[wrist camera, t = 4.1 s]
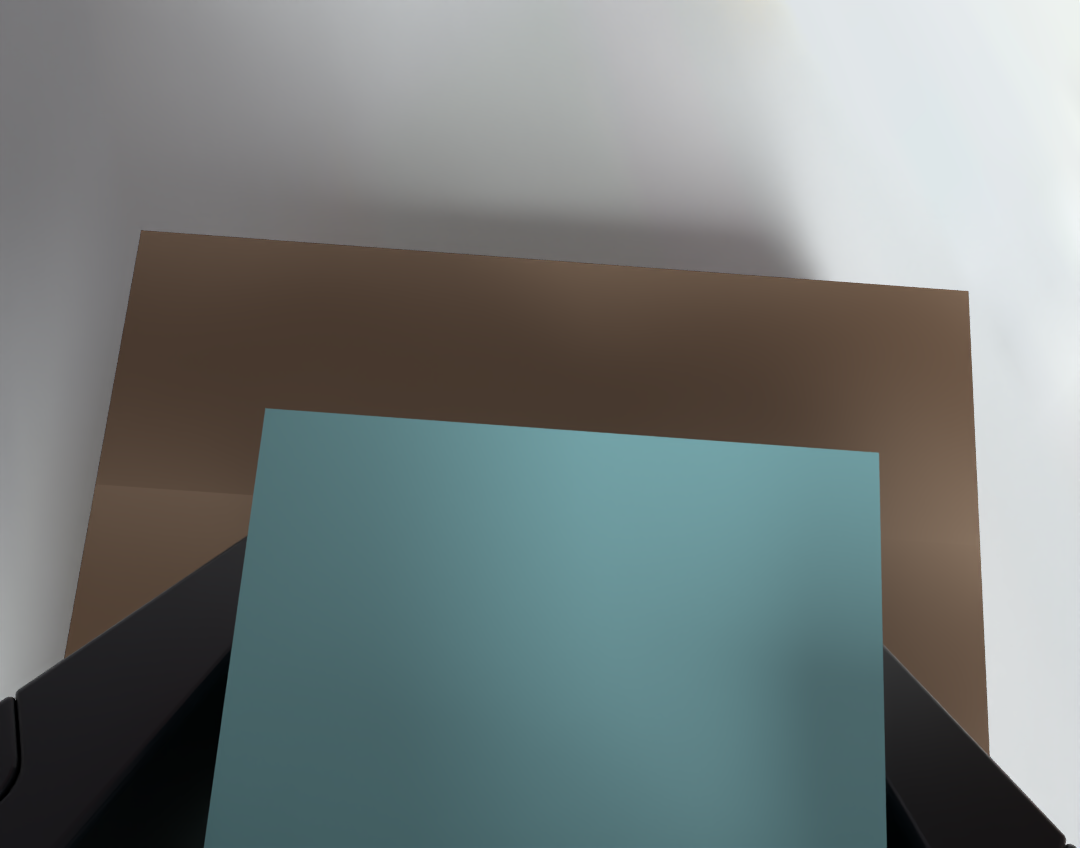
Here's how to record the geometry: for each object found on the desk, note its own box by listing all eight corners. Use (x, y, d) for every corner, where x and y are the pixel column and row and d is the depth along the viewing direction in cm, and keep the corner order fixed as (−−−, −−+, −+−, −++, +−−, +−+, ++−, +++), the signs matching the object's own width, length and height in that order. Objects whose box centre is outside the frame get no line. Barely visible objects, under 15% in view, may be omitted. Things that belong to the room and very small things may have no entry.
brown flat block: (876, 1095, 14) (1012, 1266, 10) (114, 1050, 14) (-35, 1205, 10) (864, 369, 17) (968, 291, 13) (225, 323, 17) (141, 230, 13)
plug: (639, 815, 15) (892, 1160, 5) (393, 799, 15) (165, 1120, 5) (649, 566, 16) (877, 453, 6) (416, 550, 16) (265, 408, 6)
